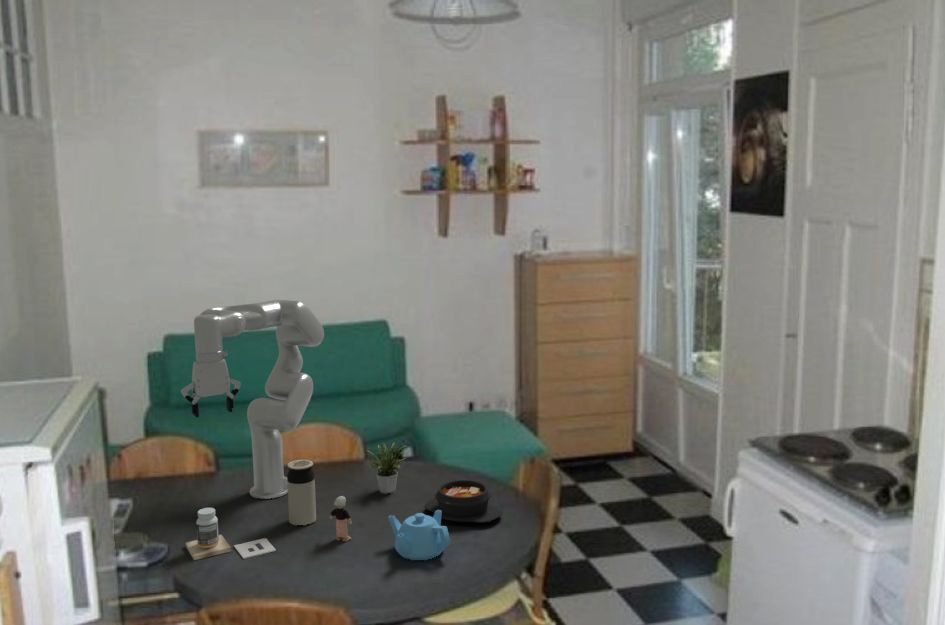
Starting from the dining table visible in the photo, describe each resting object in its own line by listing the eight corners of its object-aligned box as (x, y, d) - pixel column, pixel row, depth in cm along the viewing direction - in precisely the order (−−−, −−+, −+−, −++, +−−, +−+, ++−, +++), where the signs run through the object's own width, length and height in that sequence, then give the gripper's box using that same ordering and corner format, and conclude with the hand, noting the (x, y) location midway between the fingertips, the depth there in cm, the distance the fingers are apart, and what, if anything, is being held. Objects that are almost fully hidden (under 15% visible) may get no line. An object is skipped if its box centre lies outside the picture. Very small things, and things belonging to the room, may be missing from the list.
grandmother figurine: (357, 537, 239) (355, 495, 237) (350, 543, 235) (349, 500, 233) (333, 534, 241) (331, 492, 239) (326, 539, 238) (324, 497, 236)
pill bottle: (200, 540, 235) (198, 507, 233) (221, 539, 235) (219, 506, 234) (195, 549, 229) (193, 515, 228) (216, 548, 230) (214, 514, 228)
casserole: (412, 516, 253) (411, 490, 252) (446, 496, 269) (446, 471, 267) (481, 535, 240) (481, 507, 239) (514, 512, 255) (514, 486, 254)
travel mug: (321, 518, 253) (319, 461, 250) (305, 528, 245) (303, 469, 243) (300, 514, 256) (297, 457, 253) (283, 523, 249) (281, 466, 246)
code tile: (265, 539, 238) (265, 537, 238) (275, 551, 231) (275, 549, 231) (234, 546, 234) (234, 545, 234) (243, 559, 226) (243, 557, 226)
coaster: (221, 538, 239) (221, 534, 239) (231, 551, 231) (231, 547, 231) (185, 546, 234) (185, 542, 234) (194, 560, 226) (194, 556, 225)
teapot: (396, 567, 221) (395, 528, 219) (388, 543, 235) (387, 507, 233) (452, 560, 224) (452, 522, 222) (441, 537, 239) (441, 501, 237)
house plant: (421, 488, 276) (420, 441, 273) (395, 502, 264) (394, 453, 261) (387, 480, 283) (386, 434, 280) (361, 493, 272) (359, 445, 269)
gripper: (235, 351, 251) (238, 406, 254) (176, 358, 242) (179, 415, 245) (242, 355, 245) (246, 412, 247) (182, 363, 236) (186, 421, 239)
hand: (213, 413), depth 246 cm, fingers open, 9 cm apart
